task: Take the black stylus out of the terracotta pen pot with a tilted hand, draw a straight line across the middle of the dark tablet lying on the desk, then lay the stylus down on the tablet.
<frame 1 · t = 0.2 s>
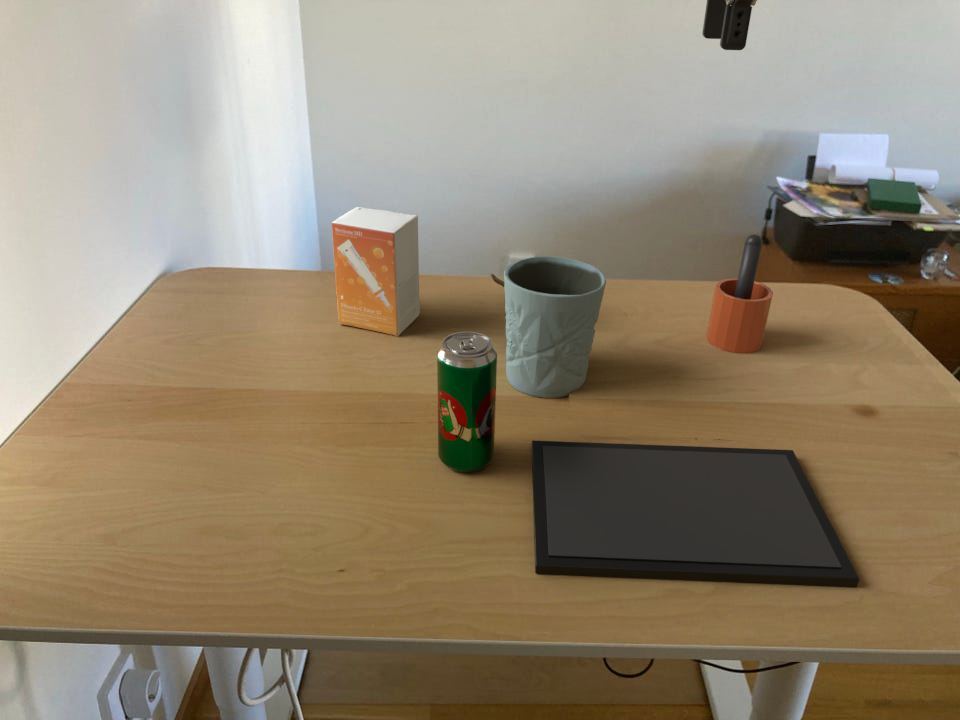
hand: (722, 43, 76), 33 cm above the table, tool pointing down, fingers open, 8 cm apart
eagle figurine: (527, 319, 96), on the table
embossed blue-green cup: (547, 378, 84), on the table
soda can: (466, 460, 71), on the table
stylus: (733, 340, 91), resting on pen pot
small box: (380, 321, 95), on the table
tablet: (676, 509, 65), on the table
pen pot: (733, 343, 91), on the table
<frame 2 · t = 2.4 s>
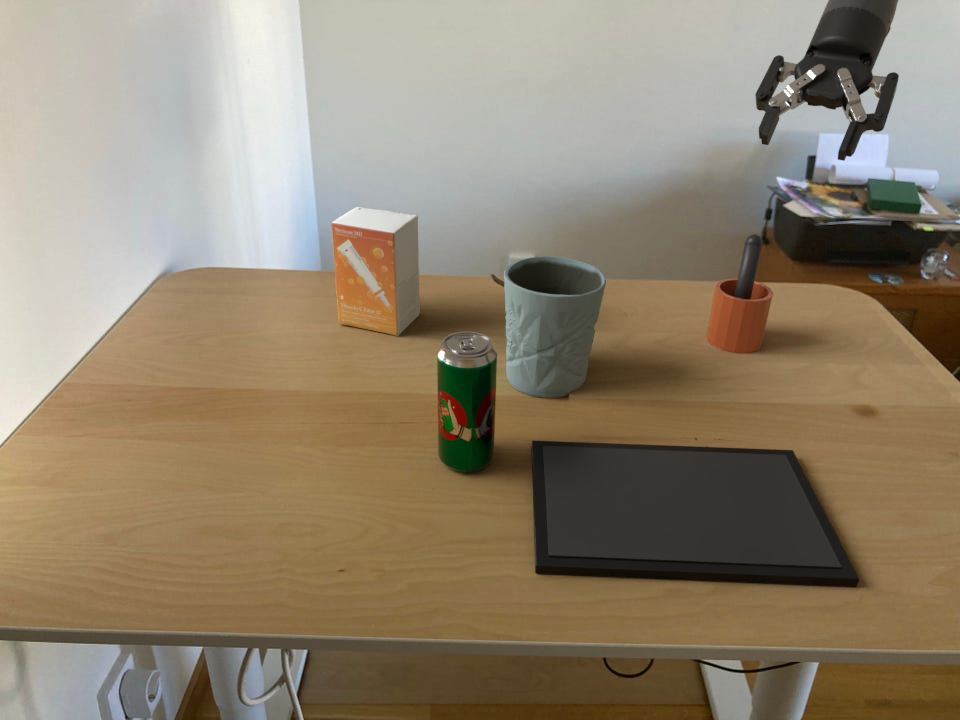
hand: (802, 148, 88), 21 cm above the table, tool tilted 45°, fingers open, 8 cm apart
nothing on the table moved.
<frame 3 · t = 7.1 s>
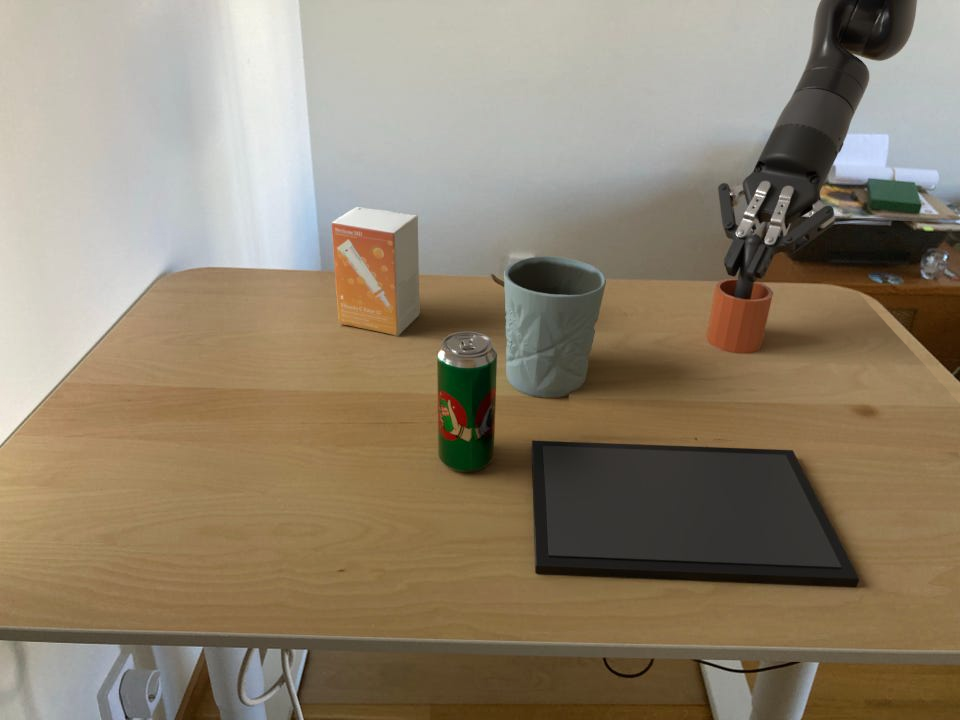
hand: (740, 275, 85), 9 cm above the table, tool tilted 45°, fingers closed on stylus, 2 cm apart
stylus: (733, 340, 91), resting on pen pot, touching gripper
everything else where it was.
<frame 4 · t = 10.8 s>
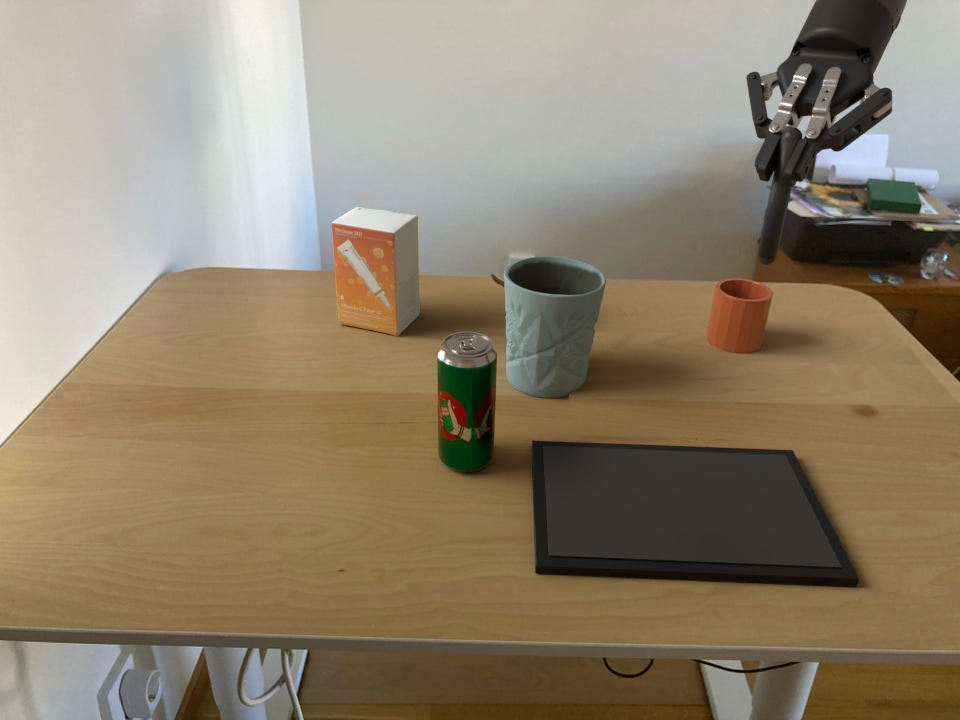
hand: (775, 178, 69), 23 cm above the table, tool tilted 45°, fingers closed on stylus
stylus: (765, 264, 75), point 14 cm above the table, touching gripper
everything else where it was.
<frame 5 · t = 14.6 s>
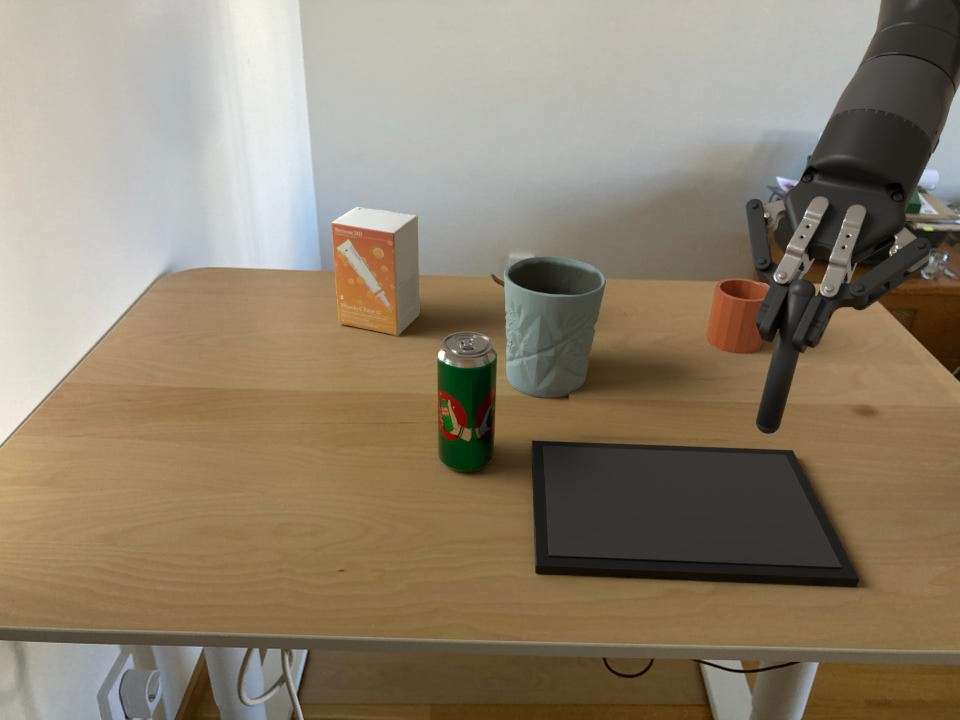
hand: (781, 342, 55), 17 cm above the table, tool tilted 45°, fingers closed on stylus
stylus: (765, 431, 61), point 8 cm above the table, touching gripper
everything else where it was.
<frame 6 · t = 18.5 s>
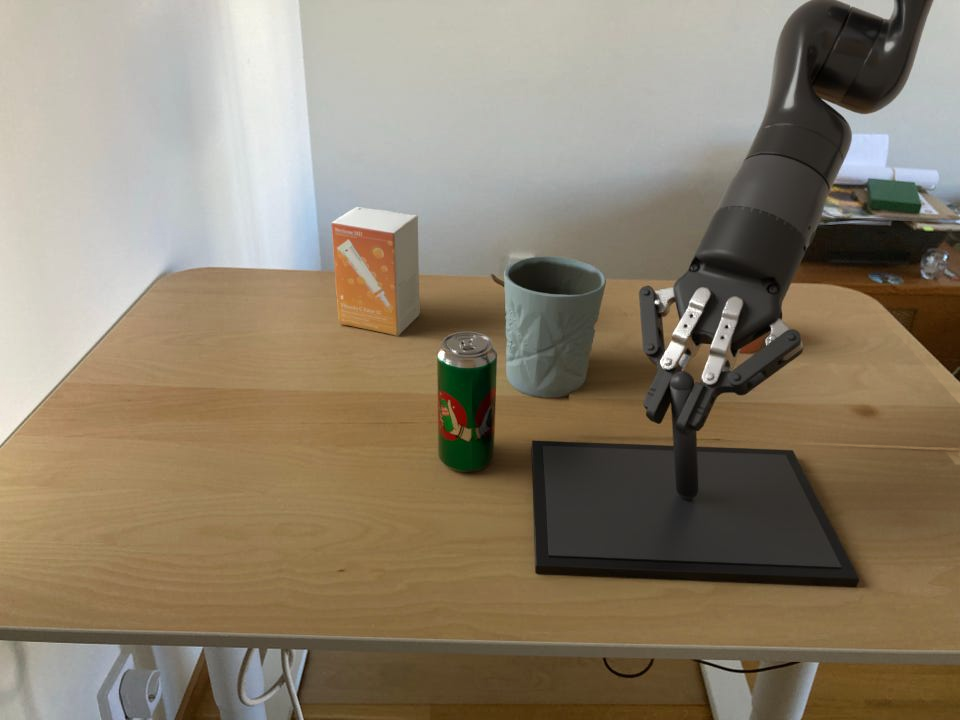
hand: (667, 425, 58), 10 cm above the table, tool tilted 45°, fingers closed on stylus, 2 cm apart
stylus: (687, 496, 65), point 1 cm above the table, tilted 13°, touching gripper, tablet
everything else where it was.
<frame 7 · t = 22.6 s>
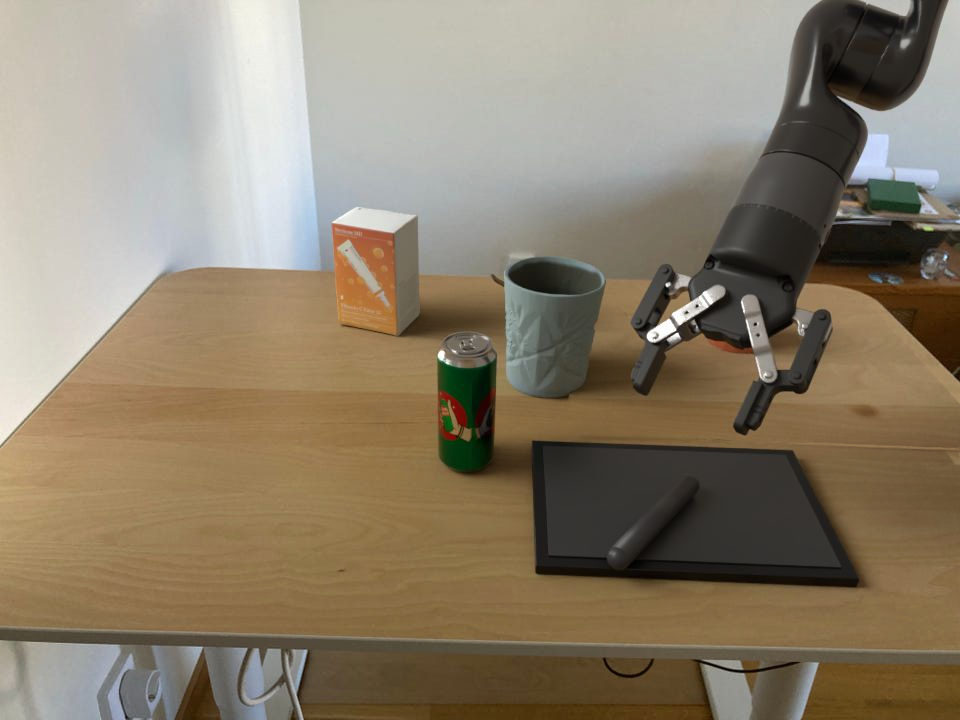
hand: (687, 410, 59), 11 cm above the table, tool tilted 45°, fingers open, 8 cm apart
stylus: (693, 479, 66), point 2 cm above the table, tilted 90°, touching tablet
everything else where it was.
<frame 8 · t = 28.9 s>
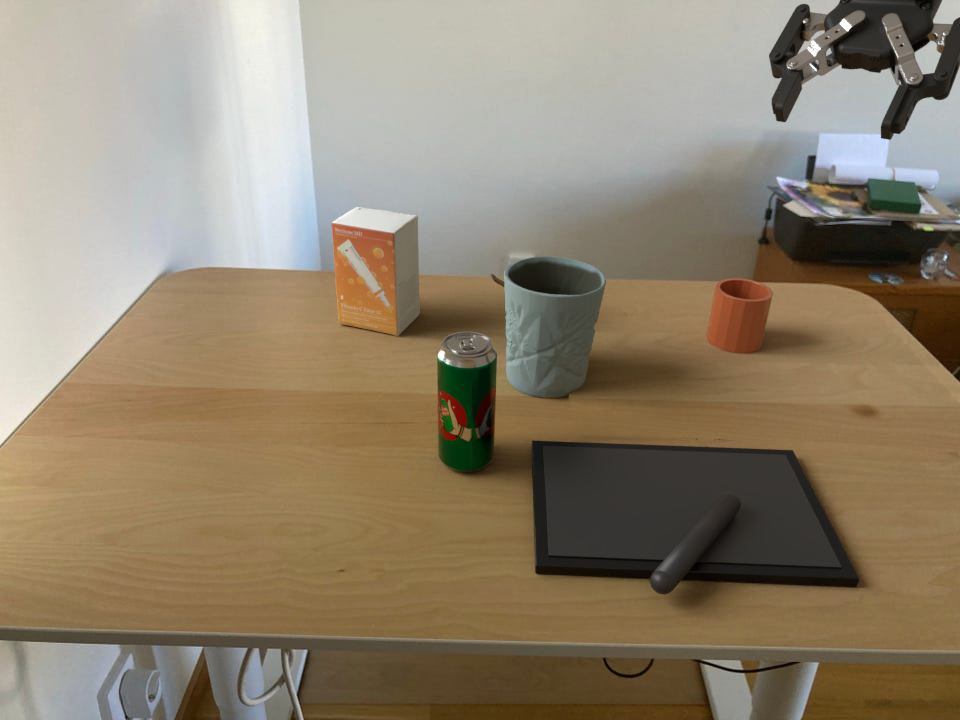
hand: (830, 124, 63), 29 cm above the table, tool tilted 45°, fingers open, 8 cm apart
stylus: (733, 498, 64), point 2 cm above the table, tilted 90°, touching tablet
everything else where it was.
at the end: stylus inside the target area on the tablet (4.5 cm from its centre), point 1.9 cm above the tablet's base; the gripper is holding nothing; stylus moved 31.5 cm from its start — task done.
